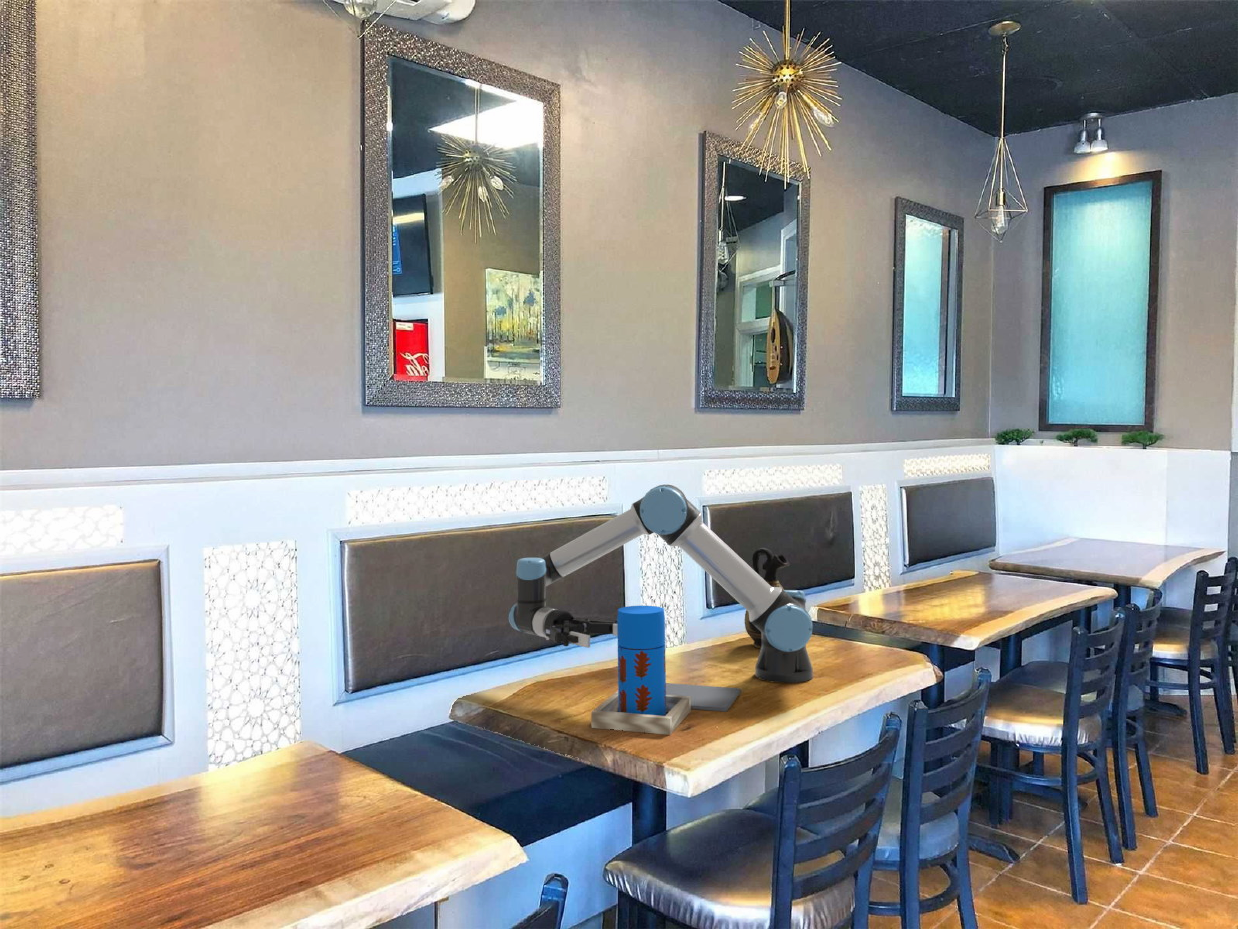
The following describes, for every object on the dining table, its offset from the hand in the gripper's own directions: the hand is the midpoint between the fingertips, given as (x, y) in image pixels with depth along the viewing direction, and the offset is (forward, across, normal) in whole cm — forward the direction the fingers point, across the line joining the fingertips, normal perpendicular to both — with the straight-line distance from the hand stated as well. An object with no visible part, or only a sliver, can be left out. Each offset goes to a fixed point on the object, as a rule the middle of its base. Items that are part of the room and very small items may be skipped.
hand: (611, 637), depth 215 cm
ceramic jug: (-16, -79, -17) cm, 83 cm away
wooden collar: (+10, 0, -17) cm, 20 cm away
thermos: (+10, 0, -17) cm, 20 cm away
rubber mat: (+7, -21, -17) cm, 28 cm away
